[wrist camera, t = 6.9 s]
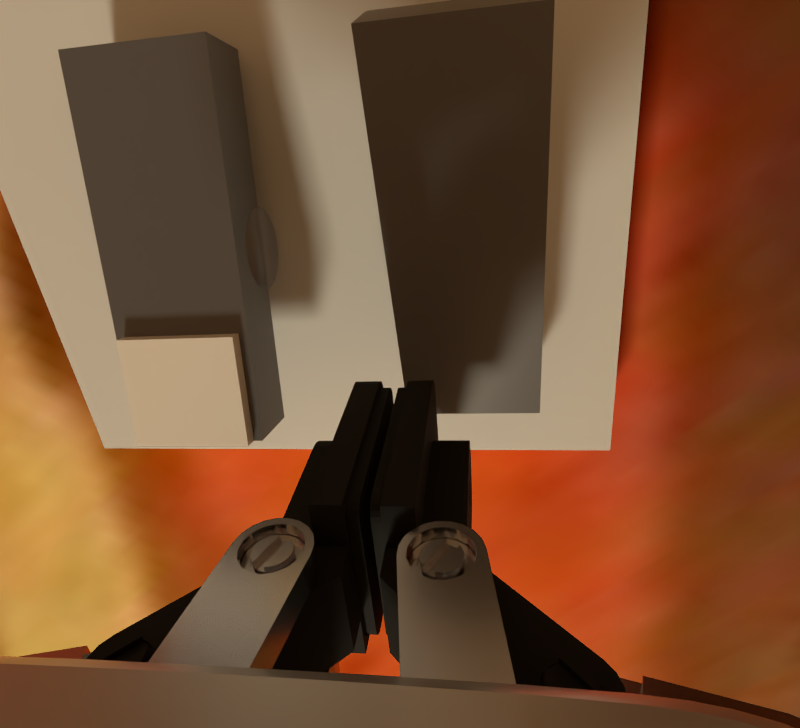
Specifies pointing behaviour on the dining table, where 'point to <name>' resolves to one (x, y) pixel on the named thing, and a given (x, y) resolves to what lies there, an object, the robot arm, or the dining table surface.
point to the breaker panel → (333, 206)
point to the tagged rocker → (179, 235)
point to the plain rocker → (463, 190)
